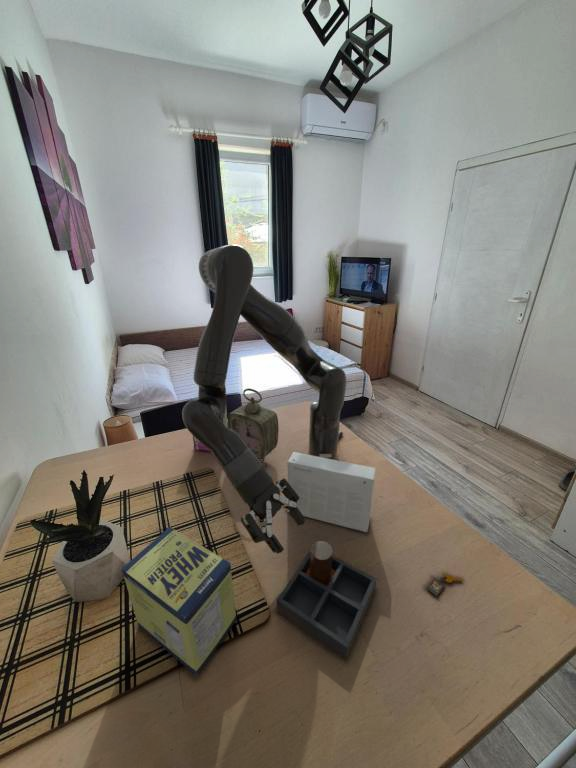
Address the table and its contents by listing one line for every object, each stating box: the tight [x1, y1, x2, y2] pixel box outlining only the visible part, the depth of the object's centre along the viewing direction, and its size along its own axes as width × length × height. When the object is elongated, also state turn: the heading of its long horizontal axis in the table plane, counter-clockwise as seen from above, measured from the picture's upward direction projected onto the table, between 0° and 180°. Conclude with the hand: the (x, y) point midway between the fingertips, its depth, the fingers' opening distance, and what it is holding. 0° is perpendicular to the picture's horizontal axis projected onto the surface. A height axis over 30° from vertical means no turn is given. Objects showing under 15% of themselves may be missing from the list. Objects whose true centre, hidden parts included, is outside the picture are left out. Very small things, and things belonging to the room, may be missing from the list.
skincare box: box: [286, 451, 377, 533], centre depth 82 cm, size 21×5×16 cm, turn 71°
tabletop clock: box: [227, 387, 280, 469], centre depth 102 cm, size 14×9×25 cm, turn 58°
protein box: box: [121, 526, 238, 677], centre depth 57 cm, size 10×16×16 cm
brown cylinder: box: [310, 540, 334, 586], centre depth 67 cm, size 4×4×8 cm
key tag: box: [426, 573, 463, 597], centre depth 68 cm, size 8×3×1 cm, turn 116°
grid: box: [276, 549, 378, 660], centre depth 64 cm, size 14×14×4 cm
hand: (291, 537), depth 69 cm, fingers open, 8 cm apart
